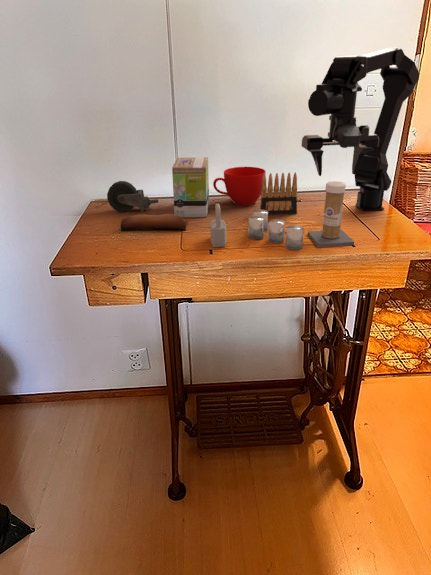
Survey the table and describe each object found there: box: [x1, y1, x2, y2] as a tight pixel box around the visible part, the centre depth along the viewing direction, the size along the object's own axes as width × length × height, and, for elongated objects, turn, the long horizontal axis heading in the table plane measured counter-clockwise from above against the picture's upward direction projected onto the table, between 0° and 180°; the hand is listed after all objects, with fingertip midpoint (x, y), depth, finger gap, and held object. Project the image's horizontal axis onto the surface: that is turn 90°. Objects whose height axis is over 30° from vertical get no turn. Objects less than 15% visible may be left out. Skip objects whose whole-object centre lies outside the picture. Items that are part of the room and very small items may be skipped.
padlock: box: [209, 202, 227, 248], centre depth 111 cm, size 7×4×10 cm, turn 2°
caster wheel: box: [106, 180, 159, 213], centre depth 137 cm, size 6×10×15 cm
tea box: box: [171, 156, 210, 218], centre depth 134 cm, size 15×10×15 cm
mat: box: [307, 228, 355, 248], centre depth 113 cm, size 9×9×1 cm
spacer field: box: [247, 209, 305, 251], centre depth 113 cm, size 12×18×5 cm
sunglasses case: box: [120, 213, 188, 232], centre depth 124 cm, size 18×7×7 cm
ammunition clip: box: [259, 172, 298, 216], centre depth 130 cm, size 11×2×12 cm, turn 90°
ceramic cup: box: [212, 166, 266, 207], centre depth 140 cm, size 13×17×10 cm
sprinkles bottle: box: [321, 180, 347, 239], centre depth 109 cm, size 5×5×14 cm
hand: (336, 174), depth 119 cm, fingers open, 9 cm apart
